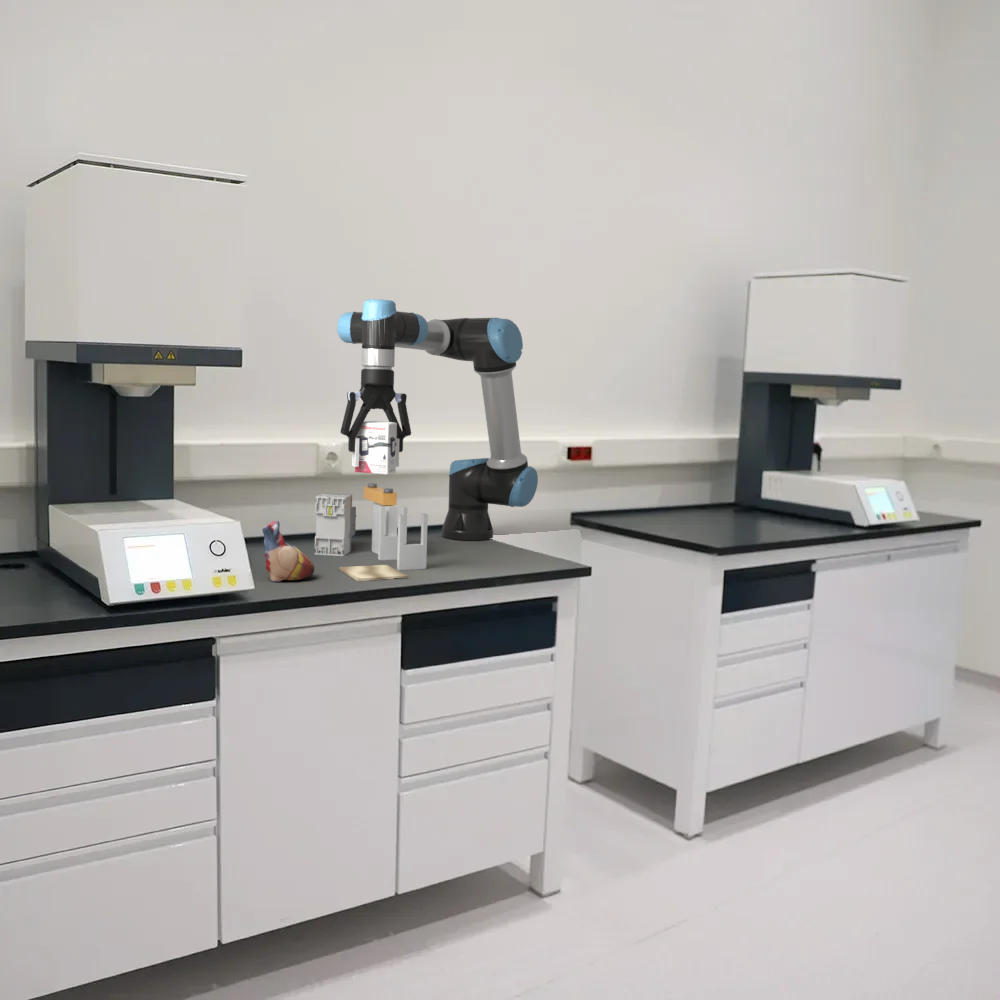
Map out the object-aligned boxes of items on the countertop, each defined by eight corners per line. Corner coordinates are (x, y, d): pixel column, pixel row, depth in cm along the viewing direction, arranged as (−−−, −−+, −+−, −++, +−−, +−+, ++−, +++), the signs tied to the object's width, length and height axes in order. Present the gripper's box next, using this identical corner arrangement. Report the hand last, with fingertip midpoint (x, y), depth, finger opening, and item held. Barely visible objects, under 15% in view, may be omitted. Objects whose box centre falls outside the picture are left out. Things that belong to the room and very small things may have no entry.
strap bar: (376, 497, 269) (376, 482, 268) (396, 505, 255) (396, 489, 255) (363, 497, 267) (364, 483, 267) (383, 505, 254) (383, 489, 253)
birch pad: (386, 567, 243) (386, 564, 243) (407, 578, 231) (407, 575, 230) (339, 569, 238) (339, 567, 238) (357, 581, 225) (357, 578, 225)
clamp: (388, 550, 266) (389, 500, 265) (426, 568, 243) (427, 514, 241) (363, 551, 263) (364, 501, 262) (399, 570, 240) (400, 515, 238)
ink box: (353, 472, 230) (354, 421, 229) (363, 470, 235) (364, 420, 233) (387, 474, 228) (389, 423, 226) (396, 473, 232) (397, 422, 231)
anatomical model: (305, 589, 219) (283, 526, 215) (269, 594, 222) (247, 533, 218) (321, 570, 228) (301, 510, 224) (287, 576, 231) (266, 516, 226)
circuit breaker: (356, 547, 270) (357, 491, 268) (343, 556, 255) (344, 498, 254) (329, 545, 270) (330, 490, 268) (314, 554, 256) (315, 496, 254)
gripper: (415, 370, 237) (413, 464, 239) (326, 366, 227) (325, 464, 230) (428, 370, 230) (425, 467, 233) (336, 366, 220) (334, 468, 223)
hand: (375, 466), depth 231 cm, fingers closed on ink box, 9 cm apart
